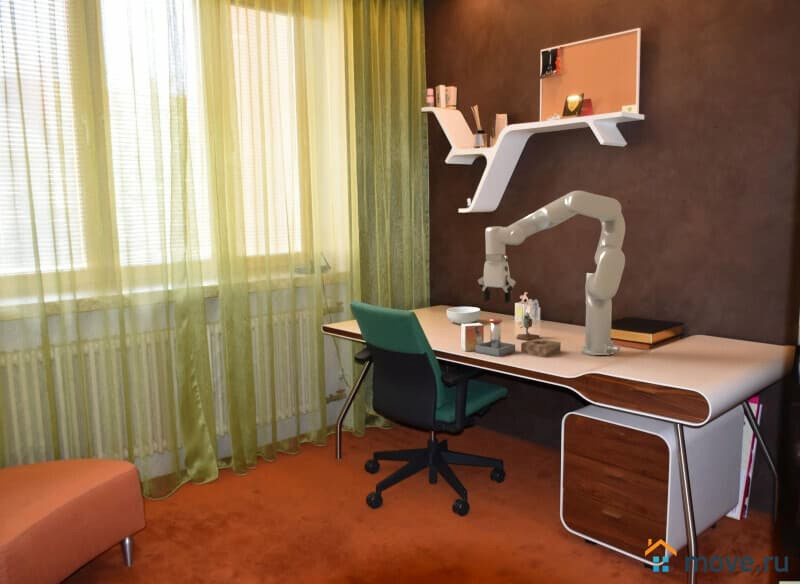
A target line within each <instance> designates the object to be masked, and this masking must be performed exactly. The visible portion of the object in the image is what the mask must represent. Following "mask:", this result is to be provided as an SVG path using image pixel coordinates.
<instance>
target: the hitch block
mask: <svg viewBox="0 0 800 584" xmlns="http://www.w3.org/2000/svg"><path fill="white" fill-rule="evenodd" d="M520 344H521V345H520V346H521V347H520V349H521V351H520V353H521V354H524V353H525V355H531V356H535V357H542V358H546V357H550V356H553V355H555V354H559V353H561V341H556V340H555V341H554V340H548V339H542V338H539V339H533V340H530V341H523V342H521V343H520Z"/></svg>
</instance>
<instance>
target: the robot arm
mask: <svg viewBox="0 0 800 584" xmlns="http://www.w3.org/2000/svg"><path fill="white" fill-rule="evenodd" d="M578 214H579V215H582V216H586V217H590V218H594V219H598V220H599V221H600V224H601V232H600V237H599V239H598V245H597V248H596V251H595V253H594V262H595V265H596V268H595V269H596V270H595V272H594V273H591V274H590V275H589V276H588V277H587V279H586V281H585V287H584V288H585V290H584V291H585V339H584V340H585V341H584V342H585V343H584V346H583V347H582V348H581V349H580V351H581V353H582V354H584V355H588V356H595V355H607V356H609V355H608V354H612V353H614V352H618V353H619V352H620V350H621V347H620V345H615V344H614V341H612V340H611V339H612V335H611V334H612V311H613V310H612V309H613V308H612V307H613V306H612V305H613V304H612V298H614V296H615V295H616V294H617V291H618V289H619V286H620V283H621V279H622V275H623V272H624V269H625V265H626V256H625V254H624V252H623V250H622V247H623V243H624V239H625V234H626V222H625V218H624V216H623V213H622V205H621V203H620V202H619V201H618V199H616V198H613V197H609V196H604V195H599V194H595V193H591V192H588V191H584V190H573V191H571V192H568V193H566V194H565V195H563V196H561V197H559V198H557V199H556V200H553V201H552V202H550V203H548V204H546V205H545V206H542V207H540V208H539V209H537V210H536V211H535V212H533V213H530V214H528V215H527V216H525V217H523V218H520V219H519V220H517V221H515V222H514V223H512V224H510V225H509V226H498V225H497V226H488V227H486V228H485V233H484V235H485V236H484V237H485V262H484V264H483V265H484V266H483V276H482V277H480V278H479V279H478V280H477V283H478V284H479V287H480V289H481V291H482V292H483V301H484V302H489V301H490V300H491V291H490V290H489V289H491V288H502V290H503V291H504V292H503V303H504V304H508V303H510V302H511V292H512V291H513V290H514V288H515V285H516V283H517V282H516V280H514V279H513V278H512V277H511V274H510V268H509V262H508V261H506V260H508V255H506V245H510V246H518V245H521V244H522V243H524V241H525V239H526V238H528V237H530V236H533V235H534V234H536V233H538V232H540V231H544V230H547V229H548V230H549V229H551V228H554V227H555V226H557V225H559V224H561V223H563V222H565V221H566V220H569V219H570V218H572V217H574V216H576V215H578ZM614 354H615V353H614ZM612 355H613V354H612Z"/></svg>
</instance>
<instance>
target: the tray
mask: <svg viewBox="0 0 800 584" xmlns="http://www.w3.org/2000/svg"><path fill="white" fill-rule="evenodd" d="M515 352H516V344H514V343H509V342H502V341H501V348H500V349H496V348H490V341H487V342H484V343H482V344H479V345H476V351H475V353H476V354H482V355H486V356H492V357H497V358H501V357H503V356H507V355H510V354H513V353H515Z"/></svg>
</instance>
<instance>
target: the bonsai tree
mask: <svg viewBox="0 0 800 584" xmlns="http://www.w3.org/2000/svg"><path fill="white" fill-rule="evenodd" d="M530 314H531V312H530V311H528V312H526V313H525V314H524V315H523V326H519V329H522V328H524V329H525V332H526V333H520V334H517V336H516V340H519V341H520V340H521V341H524V342H527V341H530V340H533V339H540V334H534V333H530V331H529V329H530V328H532V326H533V319H532V318H531V315H530Z"/></svg>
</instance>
